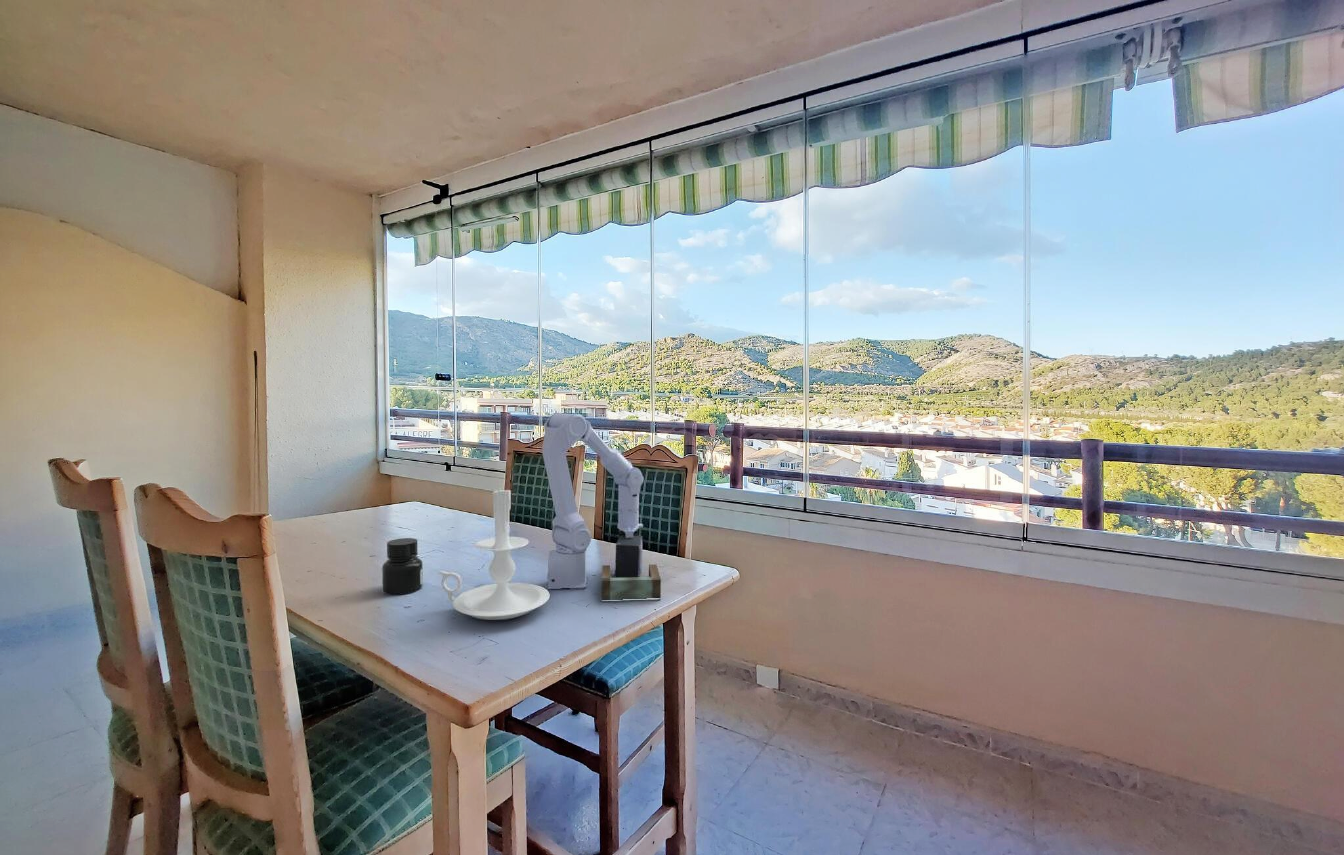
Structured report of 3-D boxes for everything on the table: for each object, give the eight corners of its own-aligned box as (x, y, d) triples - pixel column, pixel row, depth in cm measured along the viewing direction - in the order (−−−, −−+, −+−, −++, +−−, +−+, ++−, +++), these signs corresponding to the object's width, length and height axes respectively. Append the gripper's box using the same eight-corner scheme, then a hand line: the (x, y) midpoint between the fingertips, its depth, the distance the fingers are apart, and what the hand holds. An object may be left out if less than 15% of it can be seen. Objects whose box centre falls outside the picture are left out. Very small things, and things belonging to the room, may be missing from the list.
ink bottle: (431, 586, 138) (431, 539, 138) (401, 598, 130) (400, 548, 130) (404, 581, 142) (403, 535, 142) (373, 591, 134) (372, 543, 134)
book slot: (601, 601, 130) (601, 580, 130) (602, 584, 142) (602, 565, 142) (660, 600, 131) (660, 579, 131) (656, 583, 143) (656, 564, 143)
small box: (639, 585, 142) (639, 545, 141) (614, 584, 142) (614, 544, 141) (642, 572, 152) (643, 534, 152) (619, 571, 152) (619, 534, 152)
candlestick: (460, 592, 134) (460, 479, 133) (560, 597, 133) (560, 481, 131) (415, 627, 114) (414, 493, 112) (532, 633, 112) (532, 497, 111)
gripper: (644, 514, 147) (644, 564, 148) (641, 503, 162) (640, 549, 162) (618, 514, 146) (617, 565, 147) (617, 504, 161) (616, 550, 162)
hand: (628, 557), depth 155 cm, fingers closed
